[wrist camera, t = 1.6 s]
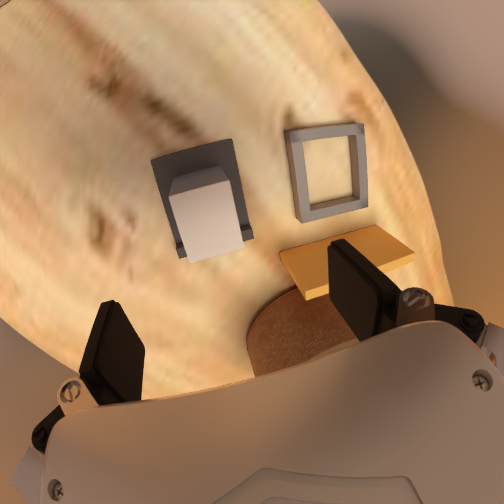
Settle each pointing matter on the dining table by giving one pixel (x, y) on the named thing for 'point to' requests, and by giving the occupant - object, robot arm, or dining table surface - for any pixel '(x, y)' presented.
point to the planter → (296, 332)
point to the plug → (205, 214)
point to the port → (364, 240)
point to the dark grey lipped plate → (196, 161)
